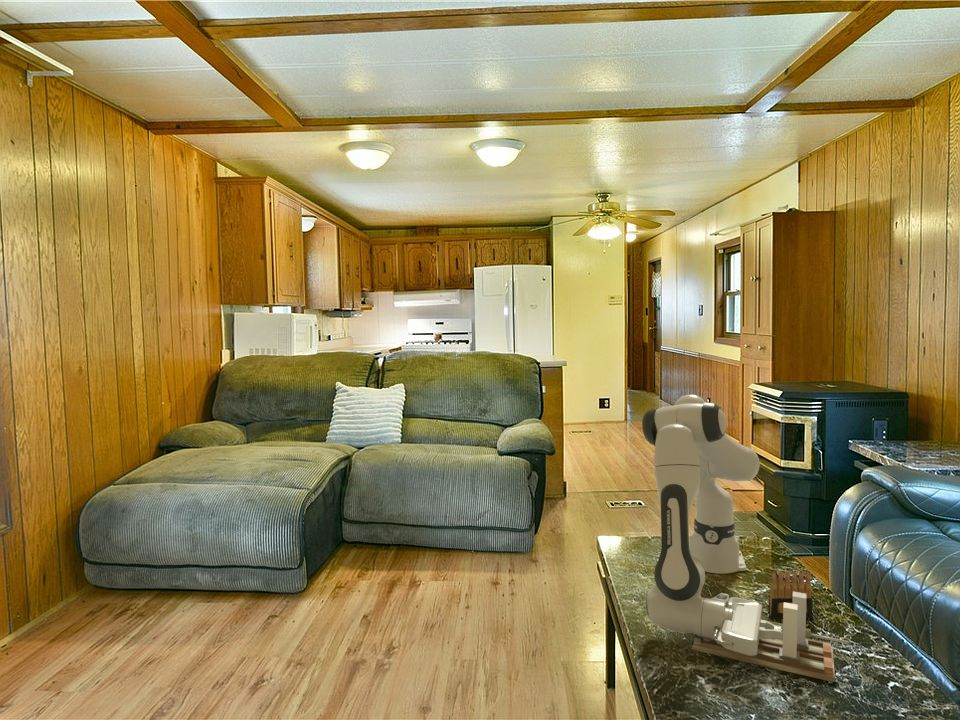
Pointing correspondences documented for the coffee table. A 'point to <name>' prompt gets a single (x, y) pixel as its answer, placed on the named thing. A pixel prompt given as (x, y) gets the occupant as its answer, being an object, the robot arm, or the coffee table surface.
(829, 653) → the wooden double track board
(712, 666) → the coffee table surface
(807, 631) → the screwdriver
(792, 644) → the beige rectangular pillar
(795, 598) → the pillar on grey base
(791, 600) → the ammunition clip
